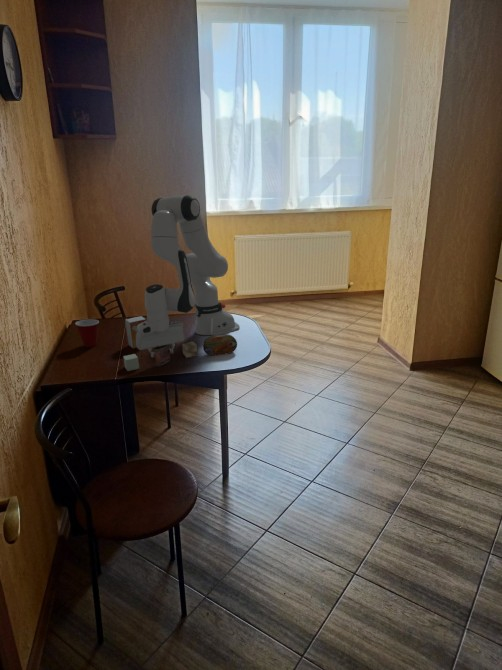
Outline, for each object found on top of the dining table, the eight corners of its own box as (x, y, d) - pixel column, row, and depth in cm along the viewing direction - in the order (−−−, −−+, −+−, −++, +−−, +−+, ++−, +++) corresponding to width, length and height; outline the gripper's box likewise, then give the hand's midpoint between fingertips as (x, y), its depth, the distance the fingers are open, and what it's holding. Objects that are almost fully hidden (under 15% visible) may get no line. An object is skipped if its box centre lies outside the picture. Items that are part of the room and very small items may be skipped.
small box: (133, 349, 217) (129, 322, 213) (128, 345, 222) (124, 319, 218) (149, 344, 221) (146, 318, 217) (144, 341, 226) (141, 315, 222)
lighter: (159, 366, 196) (157, 344, 193) (153, 365, 198) (151, 343, 195) (172, 359, 203) (170, 338, 199) (166, 358, 204) (164, 337, 201)
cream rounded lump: (193, 351, 211) (192, 341, 209) (197, 355, 206) (196, 345, 205) (183, 354, 209) (182, 343, 207) (186, 358, 204) (185, 347, 203)
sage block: (136, 364, 200) (135, 353, 198) (139, 368, 196) (137, 357, 194) (124, 367, 198) (123, 356, 196) (127, 371, 194) (125, 360, 192)
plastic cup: (107, 344, 225) (103, 320, 221) (86, 351, 218) (82, 326, 213) (95, 339, 232) (91, 316, 228) (75, 345, 225) (70, 322, 220)
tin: (204, 356, 204) (202, 338, 202) (203, 354, 207) (201, 336, 204) (237, 352, 207) (236, 335, 204) (236, 350, 210) (235, 332, 207)
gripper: (180, 317, 201) (183, 347, 206) (132, 326, 193) (137, 357, 198) (184, 321, 196) (187, 352, 201) (136, 330, 188) (140, 362, 192)
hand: (162, 354), depth 199 cm, fingers open, 6 cm apart
